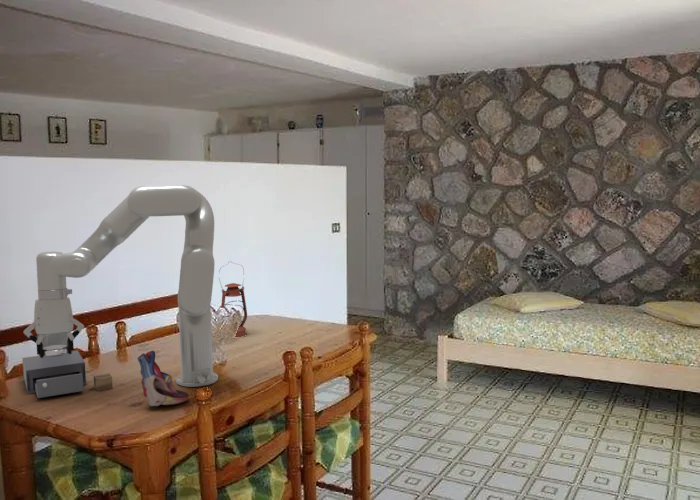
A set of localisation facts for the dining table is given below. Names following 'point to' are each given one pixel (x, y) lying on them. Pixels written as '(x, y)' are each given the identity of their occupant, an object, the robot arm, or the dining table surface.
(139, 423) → the dining table surface
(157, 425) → the dining table surface
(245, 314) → the lantern
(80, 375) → the grey drawer
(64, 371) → the box
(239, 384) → the dining table surface
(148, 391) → the anatomical model
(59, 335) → the decorative stone
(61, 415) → the dining table surface
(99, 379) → the tan cube
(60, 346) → the disc
